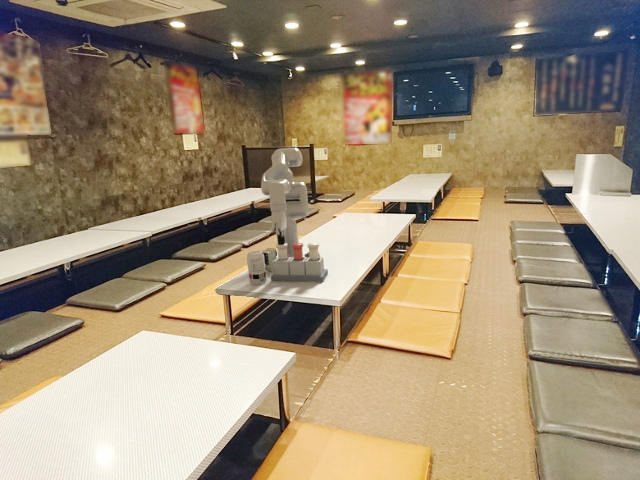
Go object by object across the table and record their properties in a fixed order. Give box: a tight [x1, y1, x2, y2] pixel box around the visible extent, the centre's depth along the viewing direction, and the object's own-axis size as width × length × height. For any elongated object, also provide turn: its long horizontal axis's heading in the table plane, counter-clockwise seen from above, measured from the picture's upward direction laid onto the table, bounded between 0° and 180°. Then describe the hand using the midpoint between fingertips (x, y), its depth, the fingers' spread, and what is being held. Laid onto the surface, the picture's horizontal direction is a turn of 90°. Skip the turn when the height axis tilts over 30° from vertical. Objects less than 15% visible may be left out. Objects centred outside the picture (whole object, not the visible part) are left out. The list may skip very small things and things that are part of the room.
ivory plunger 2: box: [307, 242, 320, 261], centre depth 205 cm, size 6×6×8 cm
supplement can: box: [246, 250, 267, 286], centre depth 204 cm, size 8×8×15 cm
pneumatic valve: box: [261, 247, 278, 272], centre depth 223 cm, size 6×12×12 cm, turn 156°
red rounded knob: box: [292, 242, 304, 261], centre depth 206 cm, size 6×6×8 cm
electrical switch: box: [304, 251, 321, 257], centre depth 225 cm, size 9×5×9 cm, turn 152°
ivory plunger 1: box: [275, 243, 287, 261], centre depth 208 cm, size 6×6×8 cm
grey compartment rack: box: [270, 256, 329, 283], centre depth 208 cm, size 12×26×10 cm, turn 78°
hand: (281, 244), depth 207 cm, fingers closed
